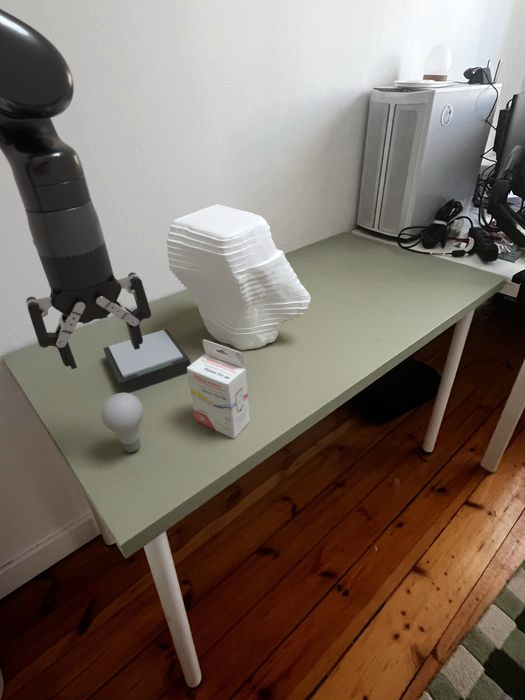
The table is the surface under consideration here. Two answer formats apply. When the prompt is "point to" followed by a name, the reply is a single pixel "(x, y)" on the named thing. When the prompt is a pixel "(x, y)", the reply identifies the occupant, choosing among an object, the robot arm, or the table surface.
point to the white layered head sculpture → (235, 275)
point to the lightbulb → (124, 418)
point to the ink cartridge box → (220, 390)
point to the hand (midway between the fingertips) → (105, 355)
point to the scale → (146, 361)
